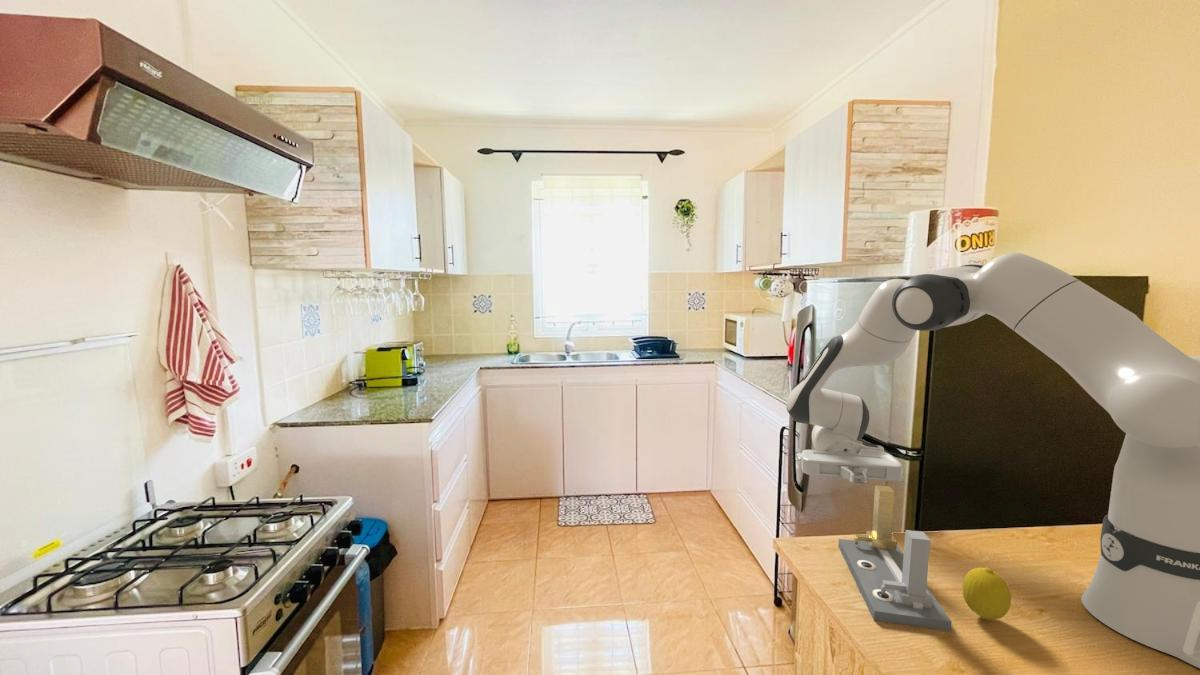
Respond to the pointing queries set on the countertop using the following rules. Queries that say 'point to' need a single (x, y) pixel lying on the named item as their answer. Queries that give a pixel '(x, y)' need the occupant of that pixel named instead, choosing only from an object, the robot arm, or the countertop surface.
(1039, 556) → the countertop surface
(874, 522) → the brass leg
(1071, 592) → the countertop surface
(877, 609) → the board
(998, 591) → the lemon
